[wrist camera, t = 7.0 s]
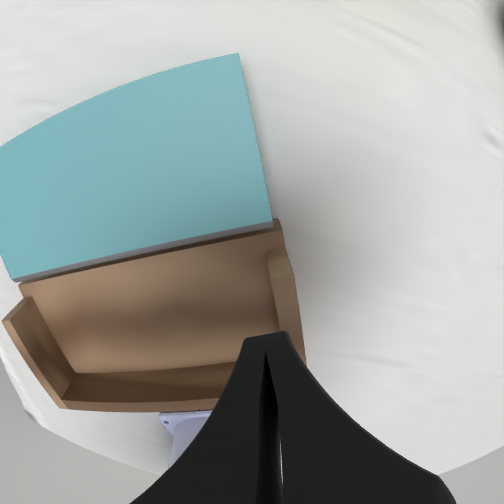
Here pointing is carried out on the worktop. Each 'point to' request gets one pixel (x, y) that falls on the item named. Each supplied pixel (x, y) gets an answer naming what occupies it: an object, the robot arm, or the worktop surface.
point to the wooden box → (155, 323)
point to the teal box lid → (134, 172)
